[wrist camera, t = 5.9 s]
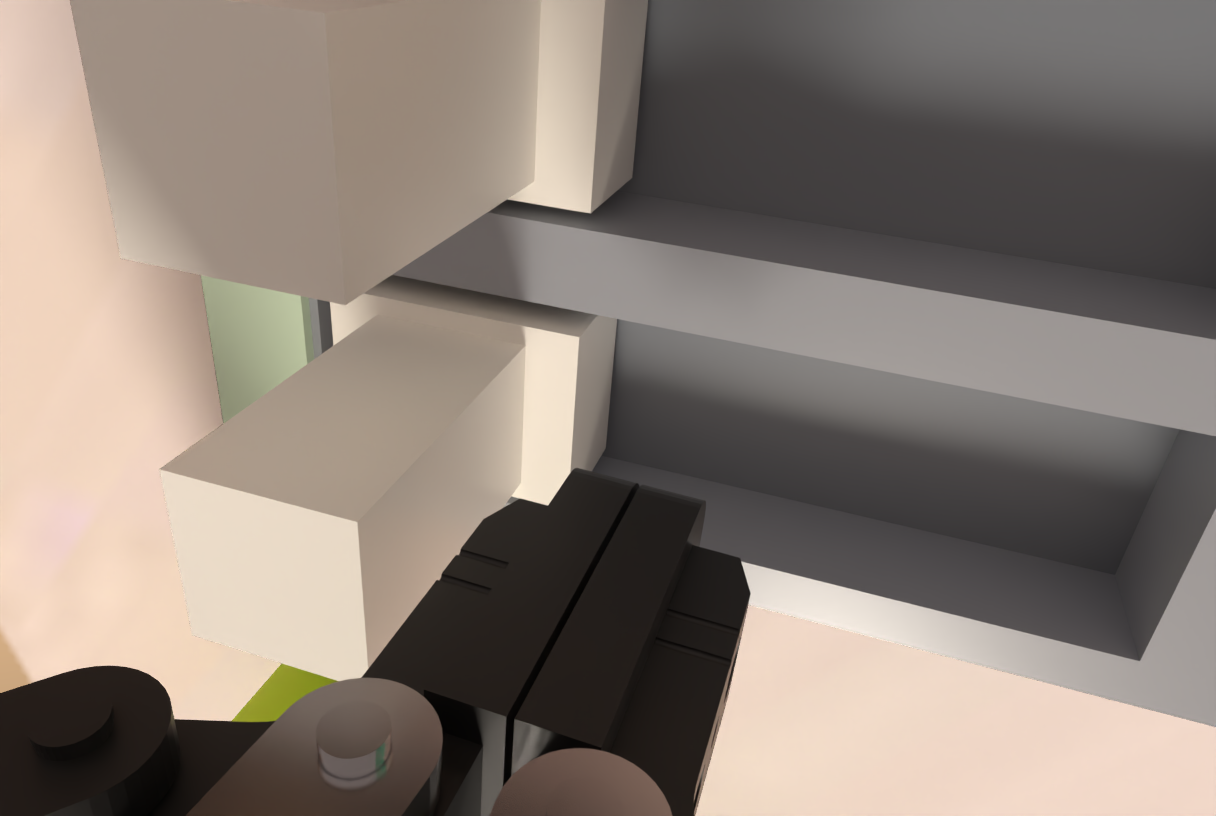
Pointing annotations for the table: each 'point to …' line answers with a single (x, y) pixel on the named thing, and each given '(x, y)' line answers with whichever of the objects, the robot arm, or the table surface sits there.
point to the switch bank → (900, 321)
